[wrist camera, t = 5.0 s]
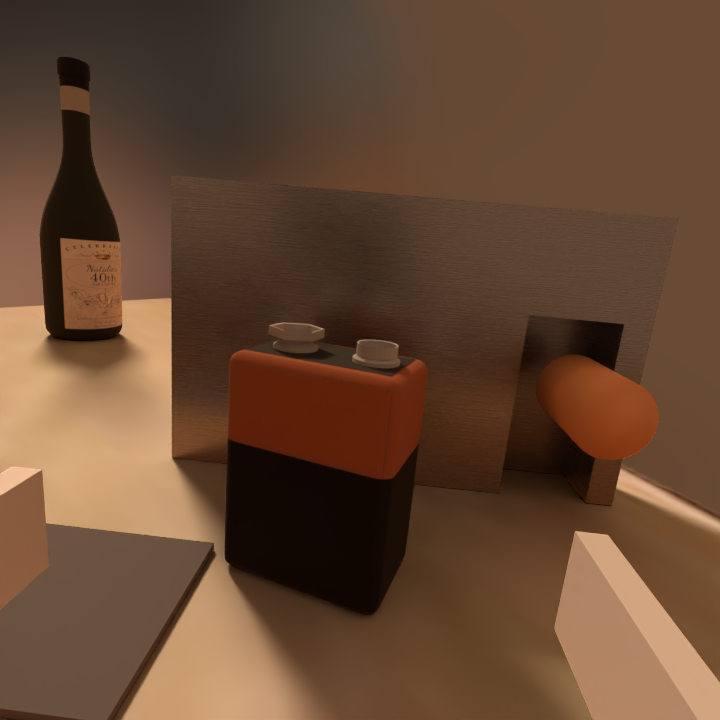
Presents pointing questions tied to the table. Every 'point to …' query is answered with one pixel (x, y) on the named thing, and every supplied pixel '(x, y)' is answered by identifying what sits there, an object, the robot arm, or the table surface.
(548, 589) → the table surface
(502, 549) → the table surface
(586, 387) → the orange rounded cylinder
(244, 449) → the battery
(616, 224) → the panel
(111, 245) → the wine bottle
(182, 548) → the mat
